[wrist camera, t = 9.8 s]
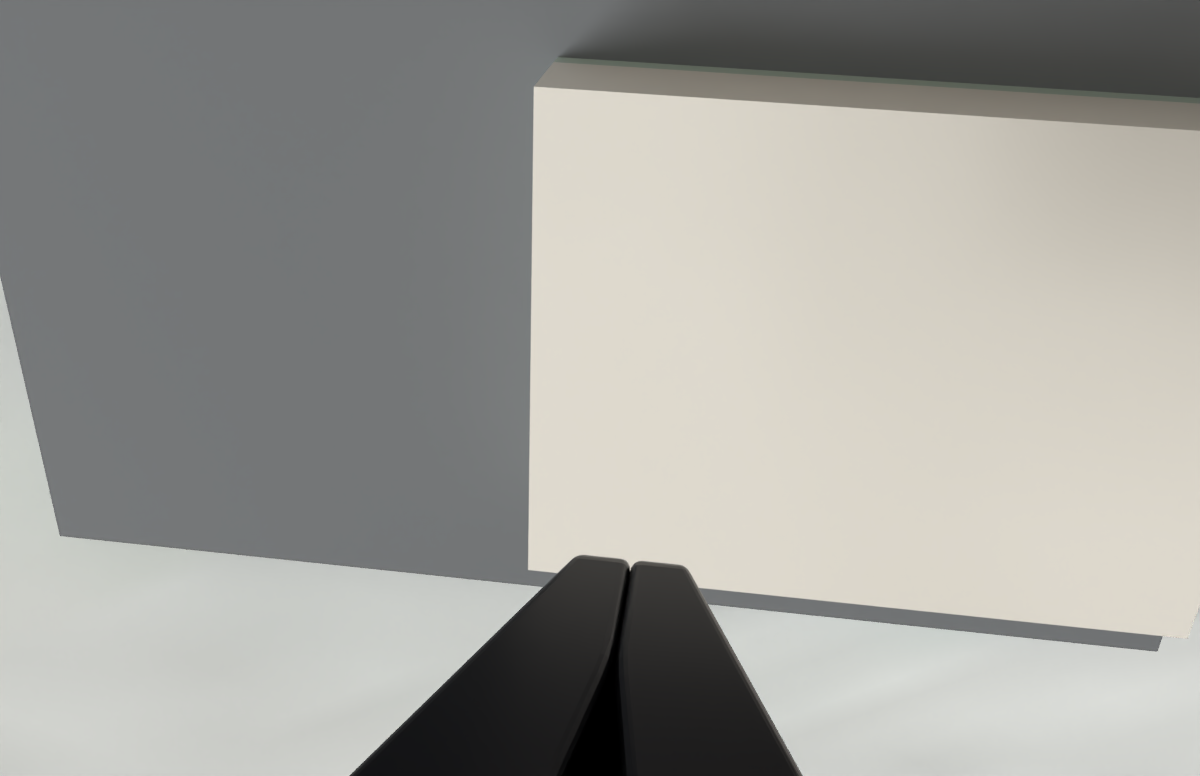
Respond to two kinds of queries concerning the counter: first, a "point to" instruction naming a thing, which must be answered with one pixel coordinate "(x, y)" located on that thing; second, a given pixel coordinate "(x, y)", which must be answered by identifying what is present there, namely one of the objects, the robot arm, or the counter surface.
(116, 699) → the counter surface
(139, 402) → the slate mat
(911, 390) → the sage tile
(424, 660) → the counter surface
